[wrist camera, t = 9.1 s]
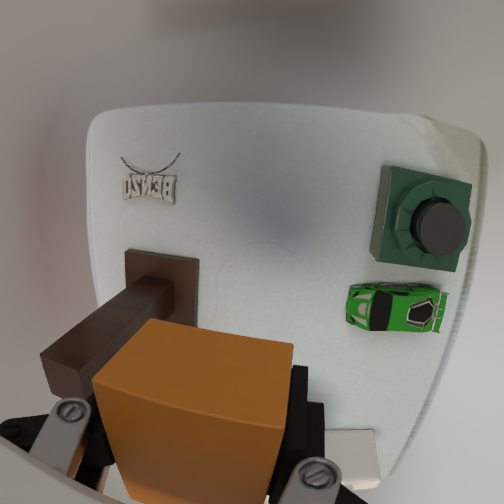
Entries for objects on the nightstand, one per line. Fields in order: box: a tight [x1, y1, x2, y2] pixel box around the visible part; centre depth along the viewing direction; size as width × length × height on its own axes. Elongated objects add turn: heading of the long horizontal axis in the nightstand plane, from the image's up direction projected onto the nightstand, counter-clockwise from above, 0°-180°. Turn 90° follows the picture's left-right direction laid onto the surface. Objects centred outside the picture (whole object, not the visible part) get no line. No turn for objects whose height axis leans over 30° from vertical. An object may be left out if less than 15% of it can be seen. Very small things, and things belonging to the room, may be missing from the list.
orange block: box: [92, 318, 293, 504], centre depth 8 cm, size 6×4×4 cm
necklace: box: [121, 153, 180, 205], centre depth 29 cm, size 7×1×5 cm
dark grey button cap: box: [412, 200, 465, 256], centre depth 21 cm, size 4×4×2 cm
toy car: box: [346, 283, 449, 333], centre depth 28 cm, size 10×5×2 cm, turn 90°
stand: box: [40, 249, 199, 401], centre depth 24 cm, size 8×8×17 cm
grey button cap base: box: [370, 166, 472, 272], centre depth 24 cm, size 8×8×5 cm
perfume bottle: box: [325, 430, 381, 492], centre depth 29 cm, size 8×2×12 cm, turn 90°
